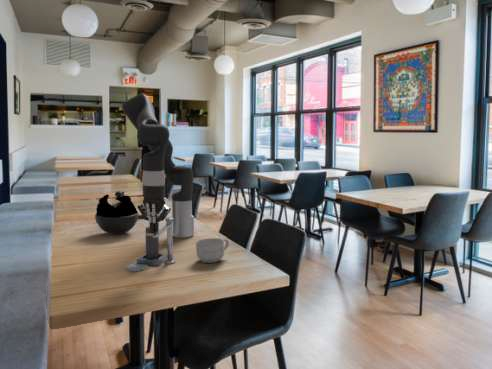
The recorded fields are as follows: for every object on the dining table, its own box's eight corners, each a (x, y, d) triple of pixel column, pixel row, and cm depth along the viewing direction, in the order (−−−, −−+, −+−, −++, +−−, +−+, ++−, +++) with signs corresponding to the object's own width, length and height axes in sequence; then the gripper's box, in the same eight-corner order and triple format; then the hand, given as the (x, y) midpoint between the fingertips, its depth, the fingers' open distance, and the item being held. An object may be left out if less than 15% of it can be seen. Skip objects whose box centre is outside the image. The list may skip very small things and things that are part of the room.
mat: (143, 263, 162) (143, 262, 162) (151, 268, 156) (151, 267, 156) (122, 266, 158) (122, 265, 158) (130, 272, 151) (130, 271, 151)
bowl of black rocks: (145, 235, 206) (144, 196, 203) (102, 241, 194) (101, 200, 192) (130, 227, 222) (129, 191, 220) (90, 232, 211) (89, 194, 208)
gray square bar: (166, 225, 164) (166, 217, 163) (174, 225, 163) (174, 217, 163) (149, 237, 144) (149, 229, 143) (159, 238, 143) (159, 229, 143)
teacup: (202, 266, 158) (201, 245, 157) (191, 259, 168) (191, 238, 167) (236, 261, 165) (236, 241, 164) (224, 254, 174) (224, 235, 173)
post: (172, 260, 166) (172, 219, 164) (177, 262, 163) (176, 221, 161) (163, 261, 164) (162, 221, 162) (167, 264, 161) (166, 222, 159)
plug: (155, 258, 168) (155, 226, 166) (161, 261, 164) (160, 228, 162) (143, 260, 165) (143, 227, 163) (149, 264, 161) (148, 230, 159)
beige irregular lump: (110, 220, 240) (109, 188, 237) (130, 218, 245) (129, 187, 242) (116, 226, 226) (115, 192, 224) (137, 224, 231) (136, 190, 229)
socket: (145, 257, 170) (145, 252, 169) (167, 258, 168) (167, 253, 168) (136, 264, 161) (136, 259, 160) (160, 265, 160) (159, 260, 159)
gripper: (131, 183, 147) (131, 233, 149) (163, 186, 141) (163, 237, 144) (145, 180, 153) (145, 228, 156) (176, 183, 148) (176, 232, 150)
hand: (154, 232), depth 150 cm, fingers closed
